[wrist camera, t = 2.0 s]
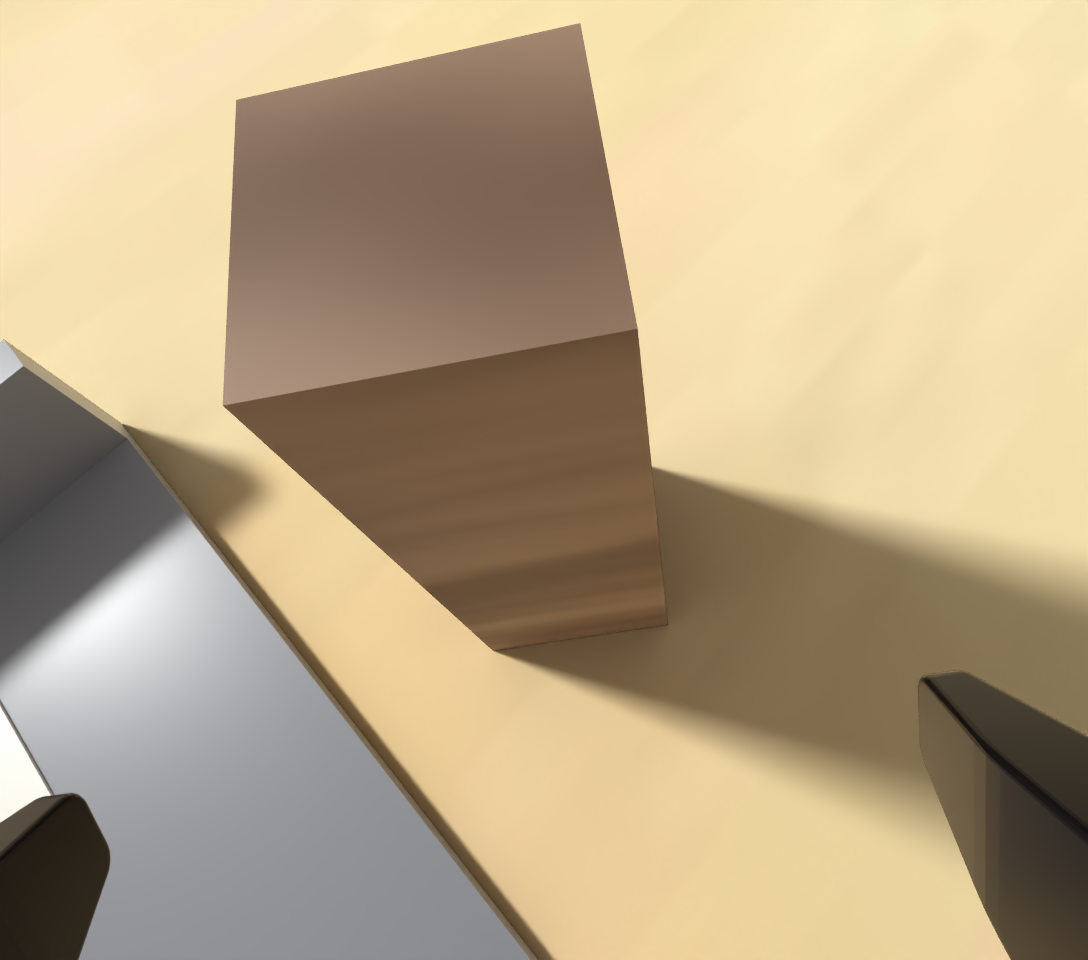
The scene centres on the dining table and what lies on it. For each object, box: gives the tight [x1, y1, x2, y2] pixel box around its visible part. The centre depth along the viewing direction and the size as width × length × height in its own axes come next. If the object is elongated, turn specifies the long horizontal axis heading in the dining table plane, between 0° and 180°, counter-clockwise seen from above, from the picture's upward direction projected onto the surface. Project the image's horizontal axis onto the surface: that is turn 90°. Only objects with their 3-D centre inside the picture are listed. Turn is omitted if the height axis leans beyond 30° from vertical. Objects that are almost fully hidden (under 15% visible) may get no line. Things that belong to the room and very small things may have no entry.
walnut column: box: [223, 23, 668, 651], centre depth 16 cm, size 5×5×14 cm
